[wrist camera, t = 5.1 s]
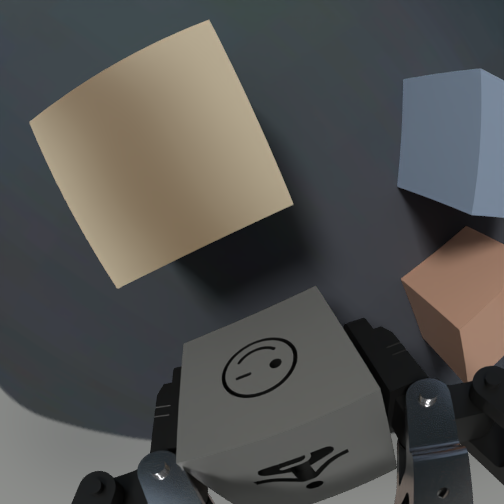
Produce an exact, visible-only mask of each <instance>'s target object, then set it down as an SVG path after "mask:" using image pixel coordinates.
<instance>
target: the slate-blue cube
mask: <svg viewBox="0 0 504 504" xmlns="http://www.w3.org/2000/svg"><path fill="white" fill-rule="evenodd" d="M397 187H399V188H402V189H405V190H408V191H411V192H414V193H416V194H419V195H422V196H424V197H427V198H430V199H432V200H435V201H438V202H440V203H443V204H445V205H448V206H451V207H453V208H456V209H458V210H460V211H463V212H465V213H468V214H470V215H477V216H490V217H502V218H504V81H503V80H502V79H500V78H498V77H496V76H494V75H492V74H490V73H488V72H486V71H484V70H482V69H471V70H462V71H454V72H446V73H439V74H432V75H426V76H420V77H414V78H408V79H403V115H402V135H401V150H400V163H399V174H398V183H397Z"/></svg>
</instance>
